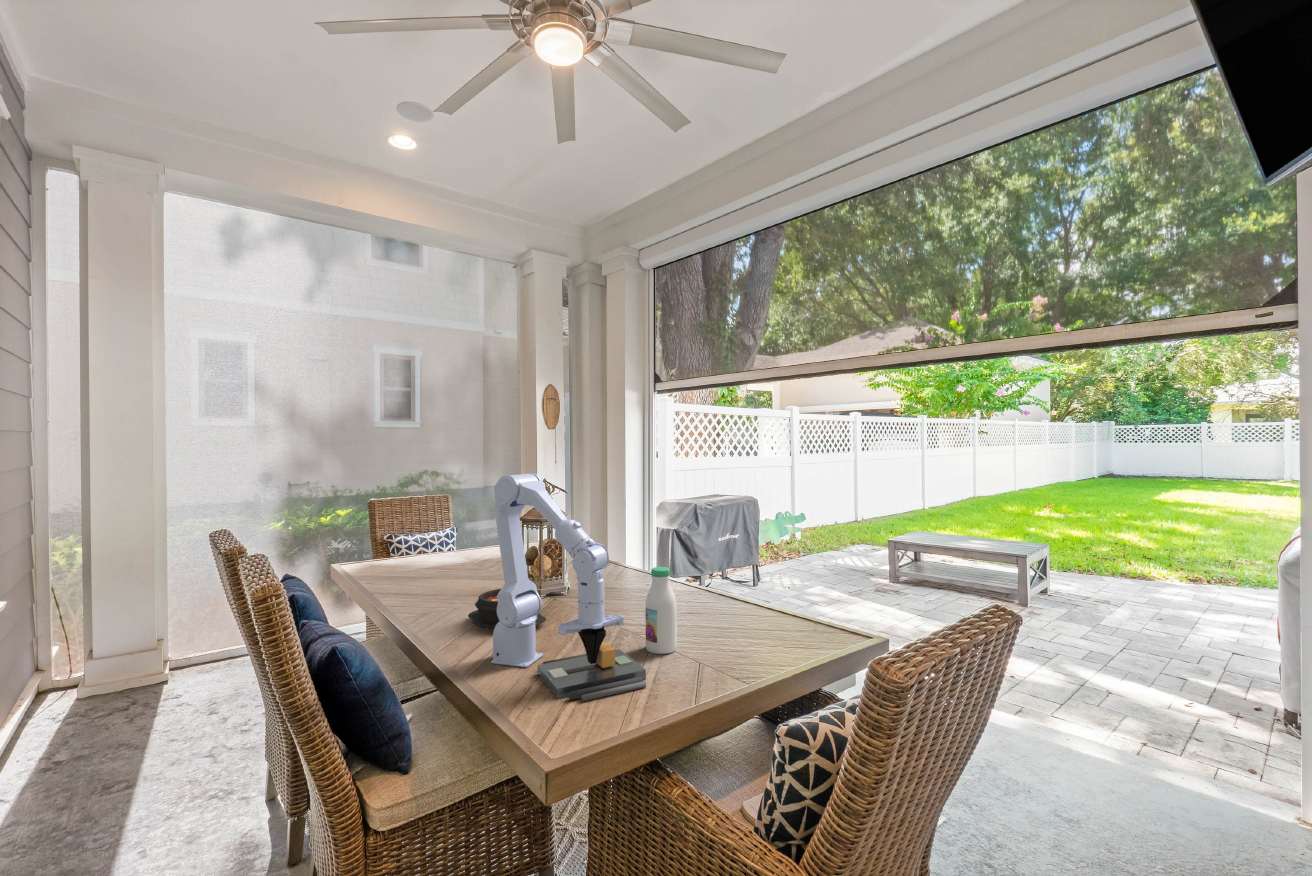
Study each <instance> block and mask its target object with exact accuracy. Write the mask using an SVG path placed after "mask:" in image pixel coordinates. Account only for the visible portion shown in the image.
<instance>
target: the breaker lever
mask: <svg viewBox="0 0 1312 876" xmlns="http://www.w3.org/2000/svg"><path fill="white" fill-rule="evenodd" d="M615 650H616V649H615V648H614V647H613V646H612V645H610V643H608V641H607V642H606V641H605V642H604V641H603V642H602V644H601V646H600V649H599V653H598V657H597V663H598V664H599V665H600V666H601V667H602V668H605V667H610V666H615Z"/></svg>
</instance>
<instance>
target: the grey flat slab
mask: <svg viewBox="0 0 1312 876" xmlns="http://www.w3.org/2000/svg"><path fill="white" fill-rule="evenodd" d="M537 675H538V676H539V677H540V679H541V680H542V681H543V683H544V684H545V685H546V687H547V688H548V689H549V690H550V691H551V693H552V694H553V695H554V697H555V698H556V699H557V700H558V699H561V698H565V697H569V696H568V693H569V692H572V691H577V690H581V689H586V688H591V687H595V686H600V685H604V684H609V683H613V682H618V681H622V680H627V679H632V678H636V677H642V678H643V680H646V679H647V670H646V669H645V667H643V666H642V665H640V664H639V663H638V662H637V661H636V660H634V659H633V658H631V657H630V655H628V654H627V653H626V652H625V651H623V650H622V649H619V648H618V649H615V666H610V667H605V668H602V667H601V666H600V665H599V664H598V663H597V662H596V663H594V664H590V663H589V662H588V659H587V656H582V657H577V658H572V659H566V660H561V661H556V662H551V663H546V664H543V663H540V664H537Z"/></svg>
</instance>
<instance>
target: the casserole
mask: <svg viewBox="0 0 1312 876" xmlns="http://www.w3.org/2000/svg"><path fill="white" fill-rule="evenodd" d="M501 589H502V588H497V589H492V590H488V591H485V592H483V593H481V594H480V595H478V598H477V601H476V602H475V603H474V605H475V607H476V608H477V609H475V610H473V611H471V612H470V613H468V615H467V617H468V618H469V619H471V621H472V623H473V624H474V625H475V626H478V627H481V628H485V629H490V630H494V629H495V626H496V625H497V623H498V622H500V620H499V618H498V616H497V605H498V596H497V595H498V593H499V592H500V590H501ZM520 594H521V593H520ZM546 621H547V617H545V616H543V615H542V614H541V613H539V614H537V619H536V620H535V627H536V626H539V625H541V624H543V623H545V622H546Z"/></svg>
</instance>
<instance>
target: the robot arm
mask: <svg viewBox="0 0 1312 876" xmlns="http://www.w3.org/2000/svg"><path fill="white" fill-rule="evenodd" d="M493 492H494V499H495V503H494V517H495V522H496V523H495V524H496V531H497V537H498V545H499V552H500V559H501V564H502V565H501V566H502V572H503V579H504V581H503V582H504V584H503V586H502V587H501V588H500V589H501V590H500V592H499V593H498V595H497V596H498V605H497V616H498V618H499V620H500V622H498V623H497V625H496V626H495V629H493V632H492V655H493V656H492V660H491V664H495V665H503V666H511V667H520V668H528V667H529V666H531V665H533V663H534V662H536V661H537V660H539V659H540V658H542V657H543V656H544V653H543V652H537V651H536V647H537V646H536V645H537V644H536V643H537V642H536V640H537V639H536V626H535V620H536V619H537V614H539V613H540V612H541V610H542V607H543V601H542V598H541V596H540V595H539V592H538V588H537V585H536V584H535V583H534V582H533V581H531V580H530V579H529V574H528V566H527V562H526V561H527V559H526V555H525V554H526V552H525V547H524V540H523V534H522V533H523V532H522V526H521V520H520V513H521V512H522V510H523V509H524V508H525V507H526V506H531V507H533V508H534V509H535V510H537V512H538V513H539V514H540V515H541V516H542V518H544V519H545V520H546V521H547V522H548V523H549V524H550V526H551V527H553V528H554V530H555V531H554V537H555V539H556V540H557V541H558V542H559V544H560V545H561V546H562V547H563V548H564V550H565V551H566V552H567V554H568V555H569V556H570V557H571V558H572V560H571V565H572V567H573V569H574V571H575V574H576V580H577V592H578V593H577V596H578V597H577V599H578V600H577V602H578V603H577V606H578V610H577V611H578V613H577V615H578V618H577V619H575V620H571V621H568V622H565V623H560V624H558V634H559V636H561V637H563V636H566V635H567V634H574V633H577V634H578V635H579V637H580V639H581V642H582V643H583V647H584V650H585V654H587V659H588V662H589V663H590V664H594V663H596V662H597V657H598V653H599V649H600V646H601V644H602V643H604V639H605V637H606V636H607V630H606V629H605V628H608V627H613V626H614V627H615V626H624V616H623V615H622V614H613V615H610V614H609V615H605V568H606V567H607V565H608V564H609V560H610V555H609V552H608V550H607V548H606V547H605V544H602V543H599V542H595V541H594V539H592V538H591V537H590V536H589V535H588V534H587V533H586V531H585V530H584V529H583V528H582V524H581V523H580V521H576V520H575V519H568V517H566V515H565V514H564V513H563V512H562V510H561V509H560V507H559V506H558V505H557V503H556V502H555V501H554V500H553V498H552V496H551V495H550V494H549V492H548V491H547V490H546V483H545V482H544V481H543V480H542V479H541V478H540V475H538V474H536V473H535V472H527V473H522V474H521V473H520V474H512V475H511V474H505V475H502V476H500V478H499V479H498V480H497V481H496V483H495V484H494V486H493ZM520 593H521V594H520ZM540 614H541V613H540Z"/></svg>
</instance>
